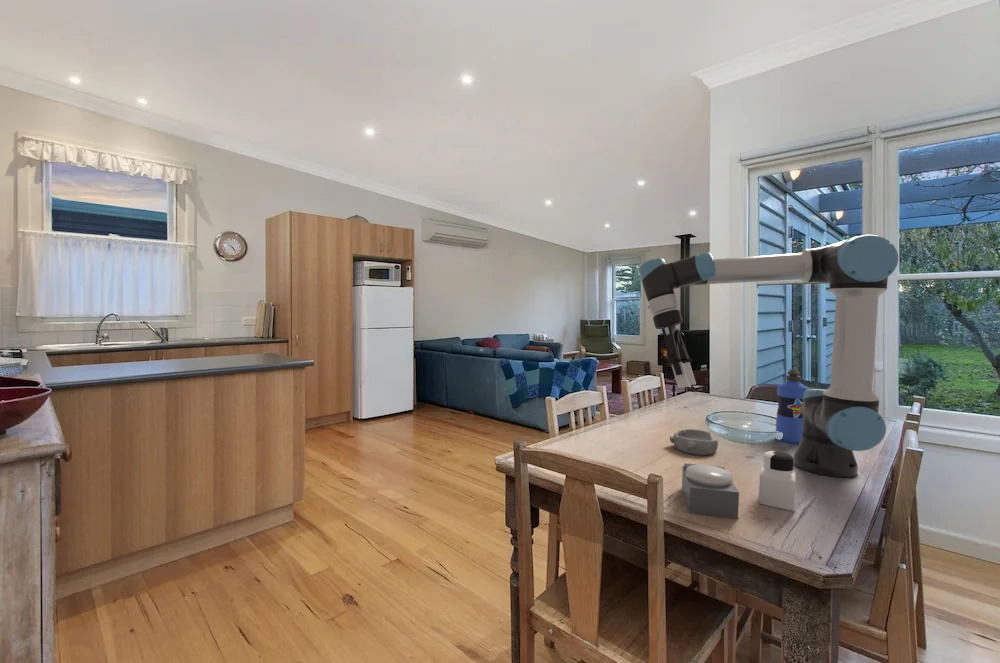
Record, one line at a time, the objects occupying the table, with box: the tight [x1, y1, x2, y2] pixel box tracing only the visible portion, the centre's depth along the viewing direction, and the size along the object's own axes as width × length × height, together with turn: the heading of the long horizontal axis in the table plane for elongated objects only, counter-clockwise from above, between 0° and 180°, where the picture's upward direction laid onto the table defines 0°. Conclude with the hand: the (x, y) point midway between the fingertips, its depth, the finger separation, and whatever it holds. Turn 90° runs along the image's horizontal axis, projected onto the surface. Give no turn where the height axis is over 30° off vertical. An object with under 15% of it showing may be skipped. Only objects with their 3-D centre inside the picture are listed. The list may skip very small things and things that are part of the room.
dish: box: [669, 428, 719, 456], centre depth 148 cm, size 14×14×5 cm
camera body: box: [681, 463, 740, 520], centre depth 108 cm, size 10×14×8 cm
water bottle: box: [775, 368, 810, 445], centre depth 158 cm, size 9×9×25 cm
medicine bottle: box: [758, 450, 797, 512], centre depth 108 cm, size 7×7×12 cm
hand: (687, 386), depth 124 cm, fingers open, 13 cm apart
